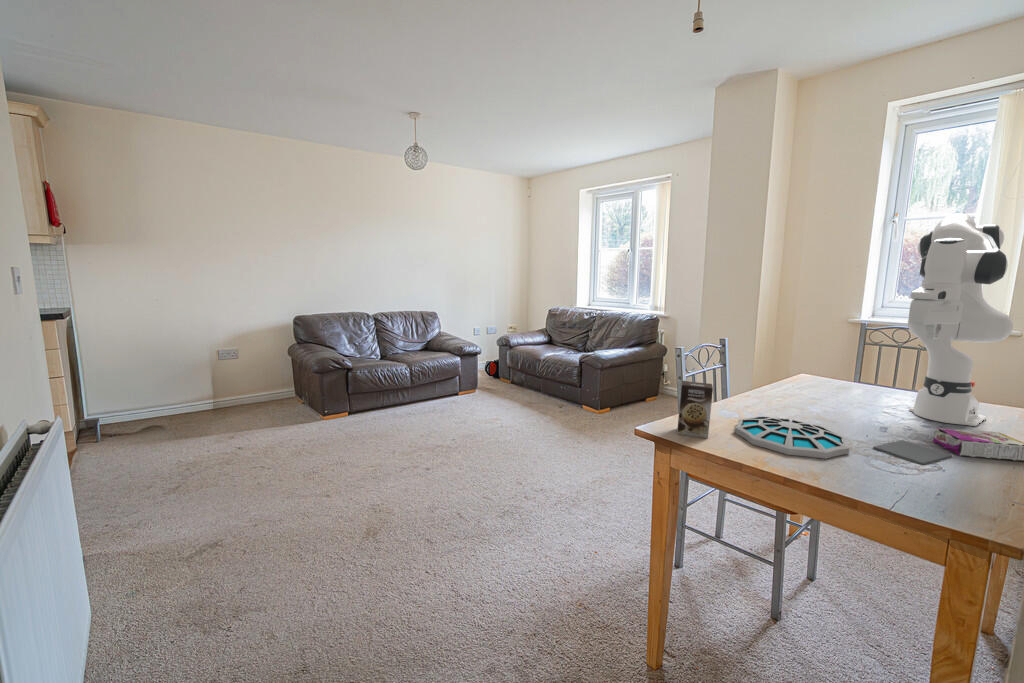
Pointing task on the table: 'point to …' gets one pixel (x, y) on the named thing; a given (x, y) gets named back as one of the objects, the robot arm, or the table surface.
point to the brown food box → (695, 409)
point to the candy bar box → (980, 444)
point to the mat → (912, 452)
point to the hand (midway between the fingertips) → (932, 338)
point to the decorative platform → (792, 437)
